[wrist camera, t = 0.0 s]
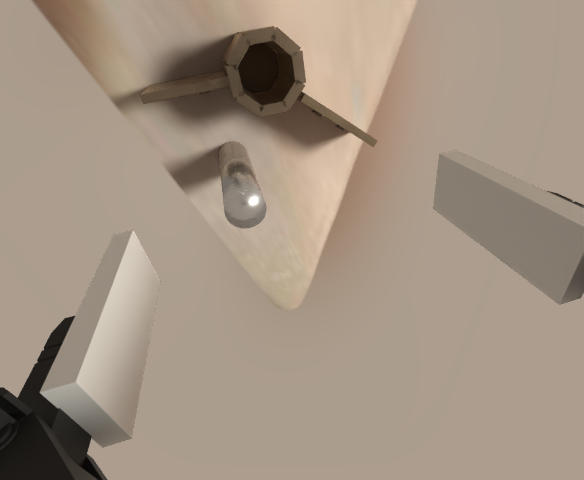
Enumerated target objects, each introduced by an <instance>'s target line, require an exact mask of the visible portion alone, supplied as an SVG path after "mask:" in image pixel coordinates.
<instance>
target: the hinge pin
mask: <svg viewBox="0 0 584 480" xmlns="http://www.w3.org/2000/svg"><path fill="white" fill-rule="evenodd" d="M219 163H220V173H221V182H222V192H223V201H224V211H225V216H226V218H227V220H228V221H229V222H230V223H231V224H232V225H234V226H236V227H239V228H251V227H254V226H256V225H257V224H259V223H260V222H261V221H262V220H263V218H264V217H265V214H266V204H265V201H264V198H263V195H262V192H261V189H260V187H259V184H258V181H257V178H256V175H255V173H254V170H253V167H252V164H251V161H250V158H249V156H248V153H247V150H246V148H245V147H244V146H243V145H242V144H240V143H238V142H228V143H226V144H224V145H223V146H222V147H221V149H220V151H219Z"/></svg>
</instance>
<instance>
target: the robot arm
mask: <svg viewBox="0 0 584 480" xmlns="http://www.w3.org/2000/svg"><path fill="white" fill-rule="evenodd" d="M433 209H434V210H435V211H437V212H438V213H439V214H441V215H442V216H443V217H445V218H446V219H447V220H449V221H450V222H451V223H453V224H454V225H455V226H456V227H458V228H459V229H461V230H462V231H463V232H464V233H466V234H467V235H468V236H470V237H471V238H472V239H474V240H475V241H476V242H478V243H479V244H480V245H482V246H483V247H484V248H485V249H487V250H488V251H490V252H491V253H492V254H493V255H495V256H496V257H497V258H499V259H500V260H501V261H502V262H504V263H505V264H506V265H508V266H509V267H510V268H512V269H513V270H514V271H516V272H517V273H518V274H520V275H521V276H522V277H523V278H525V279H526V280H528V281H529V282H530V283H531V284H533V285H534V286H535V287H537V288H538V289H539V290H541V291H542V292H543V293H545V294H546V295H547V296H548V297H550V298H551V299H553V300H554V301H555V302H556V303H558V304H563V303H566V302H570V301H573V300H576V299H579V298H581V297H582V295H583V293H584V205H582V204H580V203H578V202H573V201H572V200H571V199H568V198H566V197H564V196H562V195H559V194H557V193H553V192H549V191H545V190H543V189H541V188H538V187H536V186H534V185H532V184H530V183H527V182H525V181H523V180H521V179H519V178H516V177H514V176H512V175H510V174H508V173H506V172H503V171H501V170H499V169H497V168H495V167H492V166H490V165H488V164H486V163H484V162H481V161H479V160H477V159H475V158H473V157H470V156H468V155H466V154H464V153H462V152H459V151H457V150H452V151H448V152H444V153H440V154H439V161H438V170H437V179H436V187H435V197H434V206H433ZM160 282H161V281H160V280H159V277H158V276H157V274H156V272H155V270H154V268H153V266H152V264H151V263H150V261H149V259H148V257H147V255H146V253H145V251H144V250H143V248H142V246H141V244H140V242H139V240H138V238H137V237H136V235H135V233H134V231H133V230H131V231H127V232H123V233H119V234H115V235H113V237H112V239H111V241H110V243H109V245H108V247H107V249H106V251H105V254H104V256H103V258H102V260H101V262H100V264H99V267H98V269H97V271H96V273H95V275H94V277H93V279H92V281H91V284H90V286H89V288H88V290H87V292H86V294H85V296H84V298H83V301H82V303H81V305H80V307H79V309H78V311H77V313H76V316H72V317H69V318H65V319H64V320H63V321H62V322H61V323H60V324H59V325H58V326H57V328H56V329H55V330H54V331H53V332H52V333H51V335H50V337H49V339H48V340H47V342H46V344H45V346H44V350H43V351H42V352H41V354H40V356H39V358H38V360H37V361H38V363H36V364H35V365H34V367H33V370H32V371H31V373H30V375H29V377H28V379H27V381H26V383H25V385H24V387H23V388H22V391H21V392H20V395H19V396H18V398H17V397H15V396H14V395H13V394H12V393H10V392H9V391H8V390H6V389H5V388H0V480H107V479H106V477H105V476H104V474H103V473H102V471H101V470H100V468H99V467H98V466H97V464H96V463H95V461H94V460H93V459H92V458H91V457H90V456H89V455H88V454H87V451H88V448H89V444H90V441H91V438H92V439H93V440H95V441H96V442H97V443H98V444H99V445H100V446H101V447H106V446H109V445H112V444H115V443H119V442H122V441H125V440H128V439H131V438H132V434H133V428H134V422H135V417H136V411H137V406H138V401H139V395H140V390H141V385H142V380H143V374H144V369H145V363H146V357H147V352H148V347H149V342H150V336H151V330H152V325H153V320H154V315H155V309H156V304H157V298H158V292H159V287H160Z"/></svg>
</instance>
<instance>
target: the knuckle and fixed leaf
mask: <svg viewBox="0 0 584 480" xmlns="http://www.w3.org/2000/svg"><path fill="white" fill-rule="evenodd" d="M263 42H264V43H266V44H267V45H268V46H269V47H270V48H272V49H273V50H274V51H275V52H276V53H277V58H278V64H279V70H280V75H279V76H278V78H277V80H276V81H275V83H274V85H273V86H272V88H271V89H270V90H269V91H264V92H260V93H255V94H252V93H251V92H249V91H248V90H246V89H245V88H244V87H242V84H241V80H240V75H239V71H238V66H239V64H240V62H241V61H242V59H243V57H244V55H245V53H246V51H247V50H248V48H249V46H250V45H253V44H258V43H263ZM223 59H224V61H222V62H223V66H224V70H223V71H218V72H213V73H208V74H203V75H198V76H193V77H188V78H183V79H178V80H173V81H169V82H164V83H159V84H154V85H150V86H149V87H148V88H147V89H146V90H145V91H143V92H142V93H141V94H140V97H141V99H142V102H143V104H147V103H152V102H157V101H161V100H166V99H171V98H176V97H181V96H185V95H190V94H195V93H199V94H202V93H207V92H210V91H211V90H214V89H219V88H224V87H229V89H230V91H231V93H232V96H233V98H234V99H235V101H237V102H238V103H240V104H241V105H243V106H244V107H245V108H247V109H248V110H250V111H251V112H253V113H254V114H256V115H257V116H259V115H260V116H261V117H265V116H269V115H274V114H278V113H283V112H287V108H288V109H289V110H290V109H291V107H292V105H293V104H294V102H295V101H296V99H297V98H298V96H299V95H300V93H301V91H302V90H303V88H304V87H305V85H304V84H303V83H306V79H305V70H304V62H303V53H302V51H300V47H299V46H298V45H297V44H296V43H295V42H293V41H292V40H291V39H290V38H289V37H288V36H287V35H285V34H284V33H283V32H282V31H281V30H280V29H279V28H278V27H274V26H272V27H265V28H259V29H254V30H249V31H243V32H238V33H237V34H235V35H234V37H233V39H232V41H231V43H230V45H229V47H228V48H227V50H226V52H225V54H224V56H223Z"/></svg>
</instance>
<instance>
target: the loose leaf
mask: <svg viewBox="0 0 584 480" xmlns="http://www.w3.org/2000/svg"><path fill="white" fill-rule="evenodd" d="M297 99H298V100H300V101H301V102H303V103H304V104H306V105H308V106H309V107H311V108H312V109H313V110H312V112H313V113H315V114H316V115H318V116H320V117H321V116H322V115H323V116H325V117H327V118H328V119H330V120H331V121H333V122H335V123H336V126H337V127H338V128H340V129H341V130H343V131H344V130H345V129H346V130H347V131H349V132H350V133H352V134H354V135H355V136H357V137H358V138H360V139H361V140H363V141H365V142H367V143H368V144H369V145H371V146H373V147H374V145H375V144H376V142H377V140H376V139H374V138H373V137H371V136H370V135H368V134H366V133H365V132H363V131H362V130H360V129H359V128H357V127H356V126H354V125H353V124H351V123H350V122H348V121H346V120H345V119H343V118H342V117H340V116H339V115H337V114H336V113H334V112H333V111H331V110H330V109H328V108H326V107H325V106H323V105H322V104H320V103H319V102H317V101H316V100H314V99H313V98H311V97H309V96H308V95H306V94H305V93H303V92H301V93H300V95H299V96H298V98H297Z"/></svg>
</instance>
